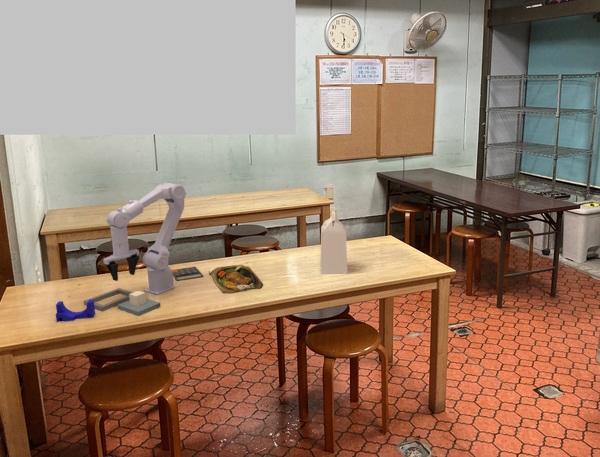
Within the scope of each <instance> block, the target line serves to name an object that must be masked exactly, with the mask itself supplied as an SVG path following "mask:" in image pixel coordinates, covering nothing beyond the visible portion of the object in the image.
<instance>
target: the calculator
mask: <svg viewBox="0 0 600 457" xmlns="http://www.w3.org/2000/svg"><path fill="white" fill-rule="evenodd" d="M171 270H172V273H173V279H175V280H174V281H175V282H180V281H187V280H192V279H193V280H194V279H201V278H204V274H202V272H201V271H200V270H199V269H198V268H197V267H196V266H189V267H188V266H187V267H183V268H177V269H175V268H174V269H171Z"/></svg>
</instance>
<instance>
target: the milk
mask: <svg viewBox="0 0 600 457" xmlns="http://www.w3.org/2000/svg"><path fill="white" fill-rule="evenodd" d="M320 231H321V232H320V275H348V254H347V253H348V252H347V249H348V248H347V231H346V227H345V225H344V224H343V223H342V222H341V221H340V220H339V219H338V218H337V217H336V212H335V210H332V211H331V215H330V218H328V219H326V220H324V222H323V224H322V225H321V226H320Z"/></svg>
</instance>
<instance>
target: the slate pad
mask: <svg viewBox="0 0 600 457" xmlns="http://www.w3.org/2000/svg"><path fill="white" fill-rule="evenodd" d="M145 298H146V297H145ZM116 307H117V309H118V310H121V311H124V312H126V313H129V314H132V315H136V316H138V317H139V316H142V315H144V314H146V313H148V312H151V311H154V310H155V309H158V308H160V307H161V302H159V301H156V300H152V299H149V298H146V303H144V304H142V305H140V306H134V305H131V304H130V300H128V301H126V302H123V303H121V304H118V305H117V306H116Z"/></svg>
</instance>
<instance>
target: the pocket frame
mask: <svg viewBox="0 0 600 457" xmlns="http://www.w3.org/2000/svg"><path fill="white" fill-rule="evenodd" d="M133 292H134V291H131V290H127V289H123V288H120V287H117V288H115V289H113V290H109V291H108V292H104V293H101V294H99V295H96V296H94V297H90V298H88V299H85V300H83V305H84V306H86V307H87V302H88V301H89V300H91V299H94V307H95V310H97V311H101V312H104V311H106V310H109V309H112V308H114V307H117V305H118V304H121V303H123V302H126V301H128V300H130V298H129V294H131V293H133ZM118 294H120V295H123V296H124V297H121V298H119V299H115V300H112V301H110V302H107V303H105V304H101V303H98V302H100V301H102V300H105V299H107V298H110V297H112V296H113V297H114V296H116V295H118Z"/></svg>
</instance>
